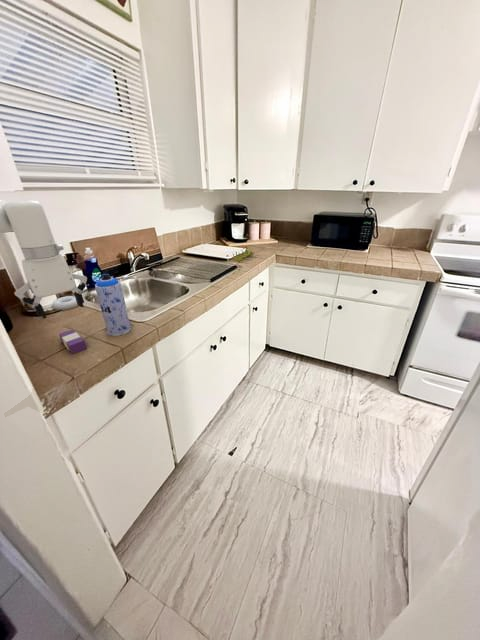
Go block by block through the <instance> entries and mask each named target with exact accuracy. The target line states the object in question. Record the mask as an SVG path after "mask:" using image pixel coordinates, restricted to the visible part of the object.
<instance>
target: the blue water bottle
mask: <svg viewBox="0 0 480 640" xmlns="http://www.w3.org/2000/svg"><path fill="white" fill-rule="evenodd" d="M94 286H95V287H94V289H95V292H96V297H97V300H98V303H99V307H100V310H101V314H102V318H103V321H104V324H105V329H106V334H107V335H109V336H112V337H119V336H123V335H125V334H129V332H131V330H132V325H131V322H130V318H129V313H128V309H127V304H126V300H125V296H124V292H123V287H122V283H121V281H120V280H118V279H117V278H115V277H112V276H111V275H110V274H109V273H102V274H101V278H100V279H98V280H97V281H96V283H95V285H94Z"/></svg>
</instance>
